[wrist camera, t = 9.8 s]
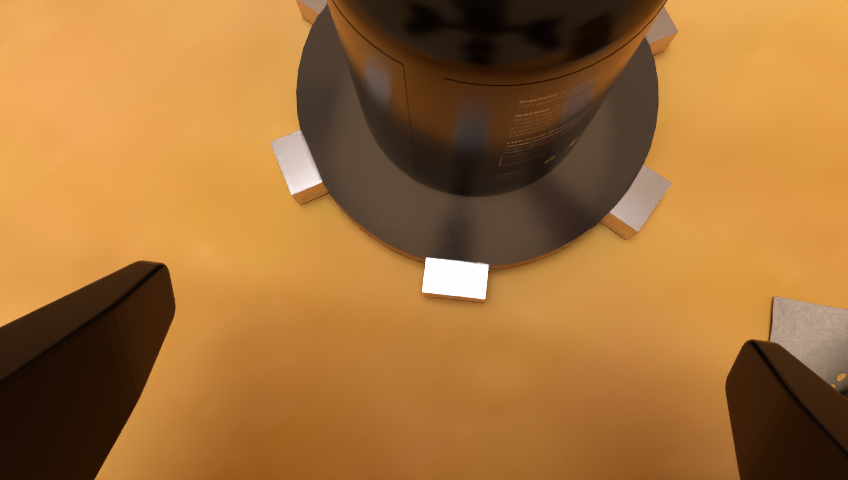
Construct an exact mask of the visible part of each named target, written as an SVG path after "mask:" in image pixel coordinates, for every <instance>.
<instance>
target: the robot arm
mask: <svg viewBox="0 0 848 480" xmlns="http://www.w3.org/2000/svg"><path fill="white" fill-rule="evenodd" d="M174 314H175V298H174V293H173V288H172V283H171V278H170V273H169V270H168V268H167V266H166V265H165V264H163V263H159V262H151V261H137V262H135V263H132V264H130V265H128V266H126V267H124V268H122V269H120V270H118V271H116V272H114V273H112V274H110V275H108V276H106V277H103V278H101V279H99V280H97V281H95V282H93V283H91V284H89V285H87V286H85V287H83V288H81V289H79V290H77V291H74V292H72V293H70V294H68V295H66V296H64V297H62V298H60V299H58V300H56V301H54V302H52V303H50V304H48V305H45V306H43V307H41V308H39V309H37V310H35V311H33V312H31V313H29V314H27V315H25V316H23V317H21V318H19V319H16V320H14V321H12V322H10V323H8V324H6V325H4V326H2V327H0V480H94V479H95V477H96V476H97V474H98V472H99V470H100V468H101V467H102V465H103V463H104V461H105V460H106V458H107V456H108V454H109V452H110V451H111V449H112V447H113V445H114V444H115V442H116V440H117V438H118V436H119V435H120V433H121V431H122V429H123V427H124V426H125V424H126V422H127V420H128V419H129V417H130V415H131V413H132V411H133V409H134V408H135V406H136V404H137V402H138V400H139V398H140V396H141V394H142V391H143V389H144V387H145V385H146V382H147V380H148V377H149V375H150V373H151V370H152V368H153V366H154V363H155V361H156V358H157V356H158V354H159V351H160V349H161V347H162V344H163V342H164V339H165V337H166V335H167V332H168V330H169V327H170V325H171V323H172V320H173V318H174ZM725 391H726V398H727V404H728V410H729V416H730V422H731V428H732V434H733V440H734V446H735V452H736V458H737V464H738V470H739V475H740V480H848V399H847V398H846V397H844V396H843V395H842V394H841V393H839V392H838V391H837V390H836V389H835V388H833V387H832V386H831V385H830V384H828V383H827V382H826V381H825V380H823V379H822V378H821V377H820V376H818V375H817V374H816V373H815V372H813V371H812V370H811V369H810V368H808V367H807V366H806V365H805V364H803V363H802V362H801V361H800V360H798V359H797V358H796V357H795V356H793V355H792V354H791V353H790V352H788V351H787V350H786V349H785V348H783V347H782V346H781V345H779V344H778V343H775V342H770V341H762V340H754V339H752V340H748V341H746V342H745V343H744V345H743V346H742V348H741V350H740V352H739V354H738V356H737V358H736V360H735V362H734V364H733V366H732V368H731V370H730V372H729V374H728V376H727V380H726V386H725Z"/></svg>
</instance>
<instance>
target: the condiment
mask: <svg viewBox="0 0 848 480" xmlns="http://www.w3.org/2000/svg"><path fill="white" fill-rule="evenodd" d="M770 342H775V343H778V344H779V345H781V346H782V347H783V348H785V349H786V350H787V351H788V352H790V353H791V354H792V355H793V356H795V357H796V358H797V359H798V360H800V361H801V362H802V363H803V364H805V365H806V366H807V367H808V368H810V369H811V370H812V371H813V372H815V373H816V374H817V375H818V376H820V377H821V378H822V379H823V380H825V381H826V382H827V383H828V384H830V385H831V384H834V385H836V388H835V389H836V390H837V391H838V392H839V393H841V394H842V395H843V396H844V397H846V398H847V399H848V310H847V309H841V308H835V307H829V306H823V305H817V304H813V303H808V302H803V301H798V300H792V299H786V298H781V297H775V296H774V303H773V322H772V331H771V337H770ZM841 373H844V374H846V377H845V378H844V379H843V380H842V381H840V382H838V381H837V379H836V378H837V376H838V375H839V374H841Z"/></svg>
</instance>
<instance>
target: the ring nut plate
mask: <svg viewBox="0 0 848 480" xmlns="http://www.w3.org/2000/svg"><path fill="white" fill-rule="evenodd" d="M296 2H297V4H298V7H299V9H300V12H301V14H302V16H303V18H304V19H306V20H307V21H309V22H310V23H311V24H313V26H312V27H311V30H310V32H309V35H308V38H307V40H306V43H305V45H304V48H303V52H302V56H301V61H300V65H299V69H298V79H297V90H296V95H297V114H298V120H299V125H300V130H298V131H296V132H294V133H291V134H289V135H286V136H284V137H282V138H279V139H277V140H274V141H272V142H270V143H271V146H272V148H273V150H274V153H275V155H276V158H277V160H278V163H279V165H280V168H281V170H282V173H283V175H284V178H285V180H286V183H287V185H288V188H289V190H290V193H291V195H292V196H293V197H294V198H295V199H296V200H297V202H298V203H299V204H300V205H301V204H304V203H306V202H309V201H311V200H313V199H316V198H318V197H320V196H323V195H325V194H327V193H330V194H331V196H332V197H333V199H334V200H335V202H336V203H337V205H338V206H339V207H340V208H341V209H342V210H343V212H344V213H345V214H346V215H347V216H348V217H349V218H350V219H351V220H352V222H353V223H355V224H356V225H357V226H358V227H359V228H361V229H362V230H363V231H364V232H365V233H366V234H368V235H369V236H370V237H371V238H373V239H375V240H376V241H378V242H379V243H381V244H382V245H384V246H385V247H387V248H389V249H390V250H392V251H395V252H397V253H399V254H401V255H403V256H405V257H408V258H410V259H412V260H416V261H419V262H422V263H425V264H426V265H425V274H424V282H423V291H422V292H423V296H429V297H438V298H447V299H456V300H465V301H474V302H483V301H484V300H485V295H486V284H487V274H488V270H499V269H506V268H510V267H515V266H520V265H524V264H528V263H530V262H533V261H536V260H539V259H541V258H544V257H547V256H549V255H551V254H553V253H555V252H557V251H559V250H561V249H563V248H565V247H566V246H568V245H570V244H571V243H573V242H574V241H575V240H577V239H578V238H580V237H581V236H583V235H584V234H585V233H587V232H588V231H589V230H590V229H591V228H593V227H594V226H595V225H596V224H597V223H598V222H601V223H602V224H604V225H605V226H607V227H608V228H610V229H611V230H613V231H614V232H615V233H617V234H618V235H620V236H621V237H623V238H624V239H628V238H629V237H631V236H632V235H634V234H635V233H637V232H638V231H639V230H640V228H641V227H642V225H643V224H644V222H645V221H646V220H647V218H648V217H649V215H650V214H651V212H652V211H653V210H654V208H655V207H656V205H657V204H658V202H659V201H660V199H661V198H662V197H663V195H664V194H665V192H666V191H667V189H668V188H669V187H670V185H671V184H672V183H671V182H669V181H668V180H666V179H665V178H663V177H662V176H660V175H659V174H657V173H656V172H654V171H653V170H651V169H650V168H648V167H647V166H645V165H644V161H645V159H646V157H647V154H648V152H649V150H650V147H651V143H652V139H653V135H654V132H655V128H656V121H657V113H658V104H659V103H658V79H657V72H656V66H655V60H654V57H653V56H654V55H656V54H659V53H661V52H663V51H665V50H666V48H667V47H668V45H669V44H670V43H671V41H672V40H673V39H674V37H675V36H676V34H677V33H678V30H677V29H676V27H675V25H674V23H673V22H672V20H671V18H670V16H669V14H668V13H667V11H666V9H665V7H664V6H663V8H662V10H661V11H660V13H659V14H658V16H657V18H656V19H655V21H654V22H653V24H652V26H651V27H650V29H649V30H648V32H647V34H646V35H645V37H644V38H643V40H642V41H641V43H640V45H639V46H638V48H637V49H636V51H635V53H634V54H633V56H632V57H631V59H630V60H629V62H628V64H627V65H626V67H625V68H624V70H623V72H622V73H621V75H620V76H619V78H618V79H617V81H616V83H615V84H614V86H613V87H612V89H611V91H610V92H609V94H608V95H607V97H606V98H605V100H604V102H603V103H602V105H601V106H600V108H599V110H598V111H597V113H596V114H595V116H594V117H593V119H592V121H591V122H590V124H589V125H588V127H587V129H586V130H585V132H584V133H583V135H582V136H581V138H580V139H579V141H578V142H577V143H576V145H575V146H574V148H573V149H572V150H571V151H570V153H569V154H568V155H567V156H566V157H565V158H564V160H563V161H562V162H561V163H560V164H559V165H558V166H556V167H555V168H554V169H553V170H552V171H551V172H549V173H548V174H547V175H545V176H544V177H542V178H541V179H539V180H538V181H536V182H534V183H532V184H530V185H528V186H526V187H524V188H522V189H519V190H516V191H513V192H510V193H506V194H501V195H496V196H489V197H463V196H457V195H451V194H447V193H443V192H440V191H437V190H434V189H431V188H429V187H427V186H425V185H423V184H420V183H419V182H417V181H415V180H414V179H412V178H410V177H409V176H407V175H406V174H405V173H403V172H402V171H401V170H400V169H399V168H397V167H396V166H395V165H394V164H393V163H392V162H391V161H390V160H389V159H388V157H387V156H386V155H385V154H384V153H383V151H382V150H381V149H380V147H379V146H378V144H377V142H376V141H375V139H374V137H373V136H372V134H371V132H370V129H369V127H368V125H367V122H366V120H365V117H364V114H363V112H362V109H361V106H360V103H359V100H358V97H357V94H356V90H355V87H354V84H353V81H352V78H351V75H350V72H349V69H348V65H347V62H346V59H345V56H344V53H343V50H342V47H341V44H340V40H339V37H338V34H337V31H336V28H335V25H334V22H333V19H332V15H331V12H330V9H329V6H328V3H327V0H296Z"/></svg>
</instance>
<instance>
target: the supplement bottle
mask: <svg viewBox="0 0 848 480" xmlns="http://www.w3.org/2000/svg"><path fill="white" fill-rule="evenodd" d="M666 1H667V0H327V3H328V6H329V9H330V12H331V15H332V19H333V22H334V25H335V28H336V31H337V34H338V37H339V40H340V44H341V47H342V50H343V53H344V56H345V59H346V62H347V65H348V69H349V72H350V75H351V78H352V81H353V84H354V87H355V90H356V94H357V97H358V100H359V103H360V106H361V109H362V112H363V114H364V117H365V120H366V122H367V125H368V127H369V129H370V132H371V134H372V136H373V137H374V139H375V141H376V142H377V144H378V146H379V147H380V149H381V150H382V151H383V153H384V154H385V155H386V156H387V157H388V159H389V160H390V161H391V162H392V163H393V164H394V165H395V166H396V167H397V168H399V169H400V170H401V171H402V172H403V173H405V174H406V175H407V176H409V177H410V178H412V179H414V180H415V181H417V182H419V183H420V184H423V185H425V186H427V187H429V188H431V189H434V190H437V191H440V192H443V193H447V194H451V195H457V196H463V197H489V196H496V195H501V194H506V193H510V192H513V191H516V190H519V189H522V188H524V187H526V186H528V185H530V184H532V183H534V182H536V181H538V180H539V179H541V178H542V177H544V176H545V175H547V174H548V173H549V172H551V171H552V170H553V169H554V168H555V167H556V166H558V165H559V164H560V163H561V162H562V161H563V160H564V158H565V157H566V156H567V155H568V154H569V153H570V151H571V150H572V149H573V148H574V146H575V145H576V143H577V142H578V141H579V139H580V138H581V136H582V135H583V133H584V132H585V130H586V129H587V127H588V125H589V124H590V122H591V121H592V119H593V117H594V116H595V114H596V113H597V111H598V110H599V108H600V106H601V105H602V103H603V102H604V100H605V98H606V97H607V95H608V94H609V92H610V91H611V89H612V87H613V86H614V84H615V83H616V81H617V79H618V78H619V76H620V75H621V73H622V72H623V70H624V68H625V67H626V65H627V64H628V62H629V60H630V59H631V57H632V56H633V54H634V53H635V51H636V49H637V48H638V46H639V45H640V43H641V41H642V40H643V38H644V37H645V35H646V34H647V32H648V30H649V29H650V27H651V26H652V24H653V22H654V21H655V19H656V18H657V16H658V14H659V13H660V11H661V10H662V8H663V6H664V5H665V3H666Z"/></svg>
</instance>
